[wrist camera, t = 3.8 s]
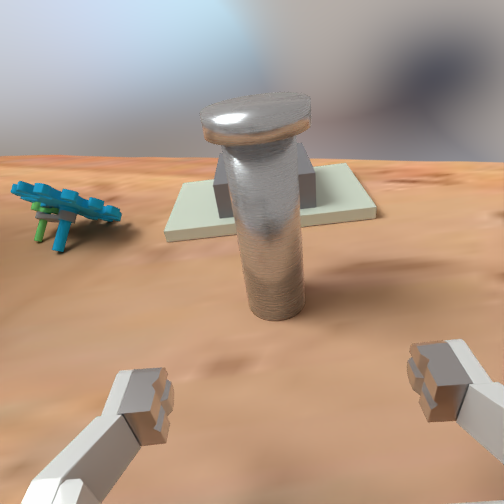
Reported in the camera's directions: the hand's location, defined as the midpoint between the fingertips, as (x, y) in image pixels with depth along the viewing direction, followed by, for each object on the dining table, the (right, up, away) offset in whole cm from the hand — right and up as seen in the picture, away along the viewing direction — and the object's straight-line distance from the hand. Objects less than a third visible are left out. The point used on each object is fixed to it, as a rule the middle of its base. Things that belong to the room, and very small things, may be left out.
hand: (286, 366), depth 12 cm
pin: (+1, 0, +13) cm, 13 cm away
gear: (-20, +5, +26) cm, 33 cm away
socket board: (0, +9, +26) cm, 28 cm away
